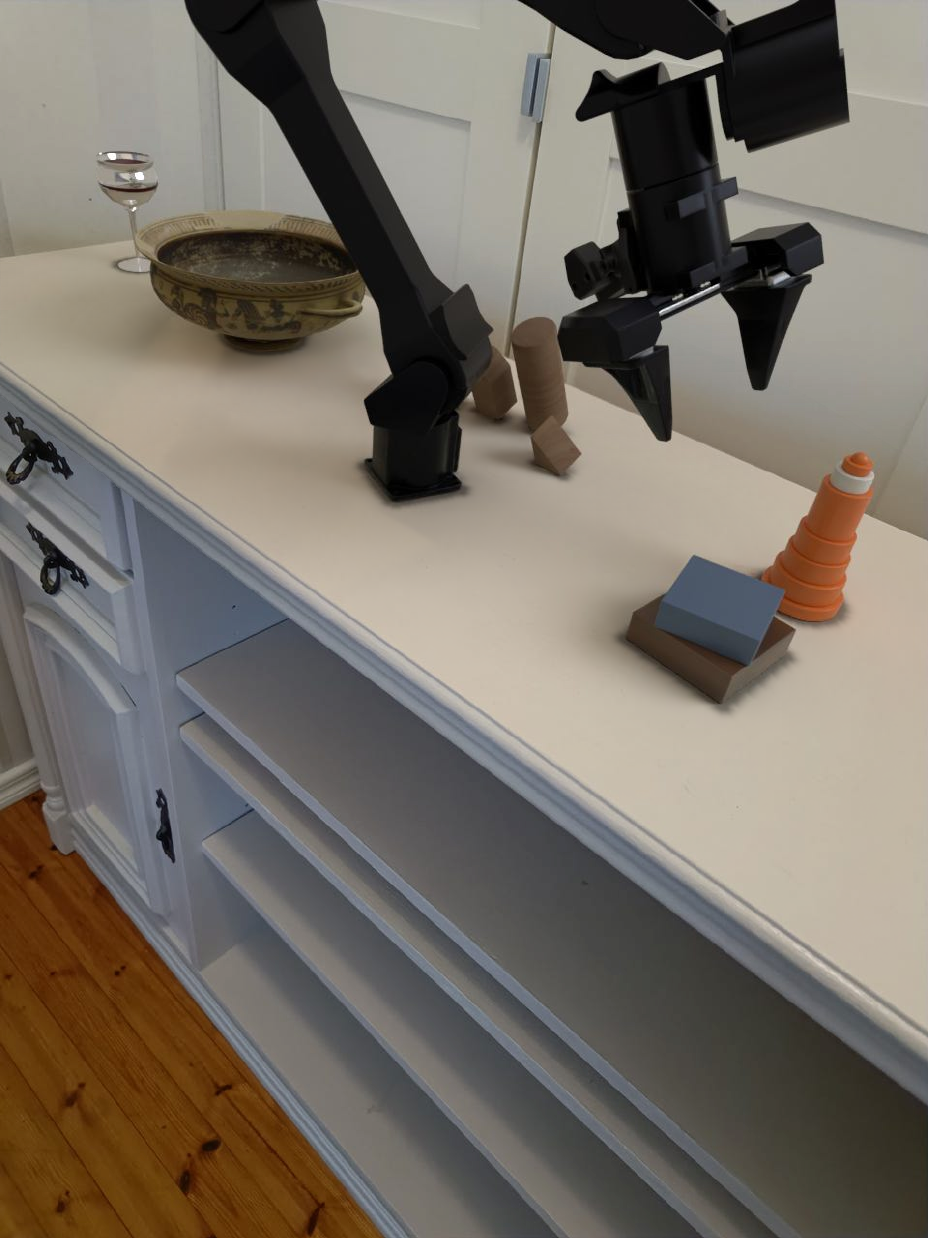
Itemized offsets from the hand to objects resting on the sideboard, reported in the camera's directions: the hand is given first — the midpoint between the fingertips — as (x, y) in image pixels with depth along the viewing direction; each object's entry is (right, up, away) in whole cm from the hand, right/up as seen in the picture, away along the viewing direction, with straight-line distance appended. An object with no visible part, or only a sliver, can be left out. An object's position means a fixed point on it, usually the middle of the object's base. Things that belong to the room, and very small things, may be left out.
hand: (713, 414), depth 60 cm
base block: (-1, -16, -1) cm, 16 cm away
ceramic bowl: (-39, +16, +32) cm, 53 cm away
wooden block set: (-13, +4, +22) cm, 26 cm away
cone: (+8, -13, +5) cm, 16 cm away
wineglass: (-58, +29, +45) cm, 79 cm away
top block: (-1, -15, -3) cm, 15 cm away
